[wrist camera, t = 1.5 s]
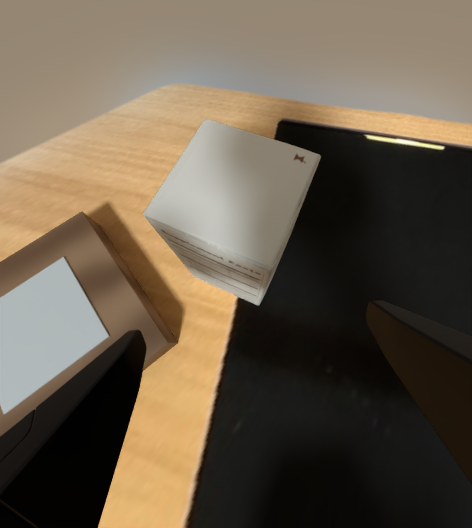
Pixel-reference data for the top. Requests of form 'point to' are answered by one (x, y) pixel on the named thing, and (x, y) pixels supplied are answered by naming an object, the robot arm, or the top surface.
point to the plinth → (66, 313)
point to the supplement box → (232, 206)
